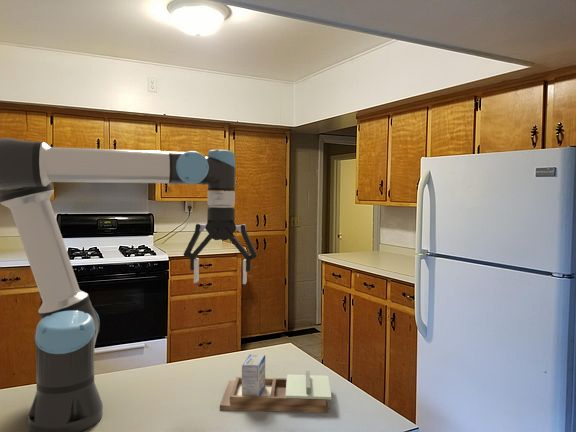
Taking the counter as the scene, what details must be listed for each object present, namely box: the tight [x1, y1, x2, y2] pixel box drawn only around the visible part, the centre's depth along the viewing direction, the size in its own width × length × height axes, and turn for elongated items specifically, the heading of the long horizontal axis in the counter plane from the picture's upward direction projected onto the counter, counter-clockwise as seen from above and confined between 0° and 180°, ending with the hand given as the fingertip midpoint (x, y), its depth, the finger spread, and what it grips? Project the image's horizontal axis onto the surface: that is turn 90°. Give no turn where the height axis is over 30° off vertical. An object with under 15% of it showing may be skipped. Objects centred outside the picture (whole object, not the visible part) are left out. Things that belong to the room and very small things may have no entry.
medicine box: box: [241, 353, 266, 396], centre depth 113 cm, size 8×4×9 cm, turn 171°
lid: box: [285, 370, 332, 400], centre depth 113 cm, size 11×12×2 cm
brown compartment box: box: [219, 376, 329, 414], centre depth 113 cm, size 26×14×3 cm, turn 88°
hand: (220, 282), depth 124 cm, fingers open, 13 cm apart
